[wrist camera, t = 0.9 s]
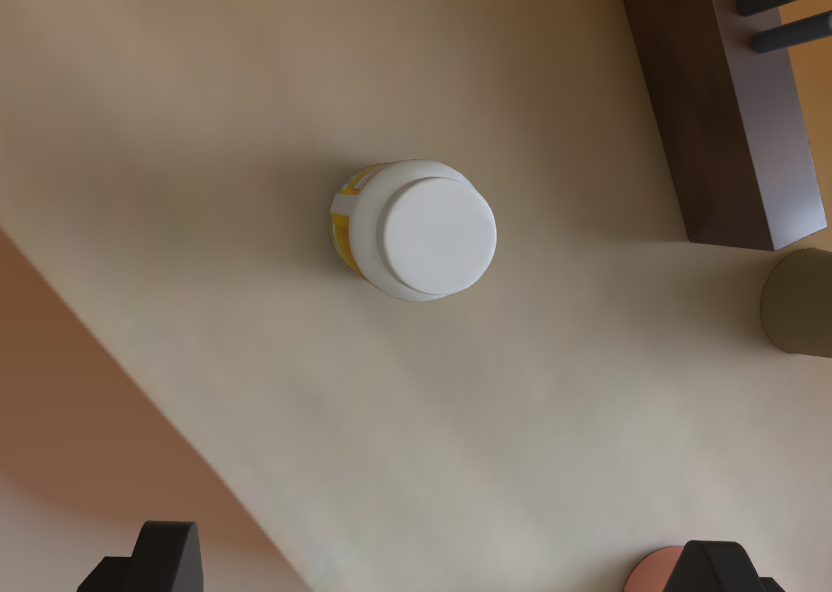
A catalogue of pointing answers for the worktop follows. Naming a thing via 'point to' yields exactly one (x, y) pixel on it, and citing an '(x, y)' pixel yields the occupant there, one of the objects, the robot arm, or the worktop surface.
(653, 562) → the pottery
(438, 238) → the supplement bottle
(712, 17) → the walnut pen block
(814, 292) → the olive pawn figure
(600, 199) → the worktop surface
